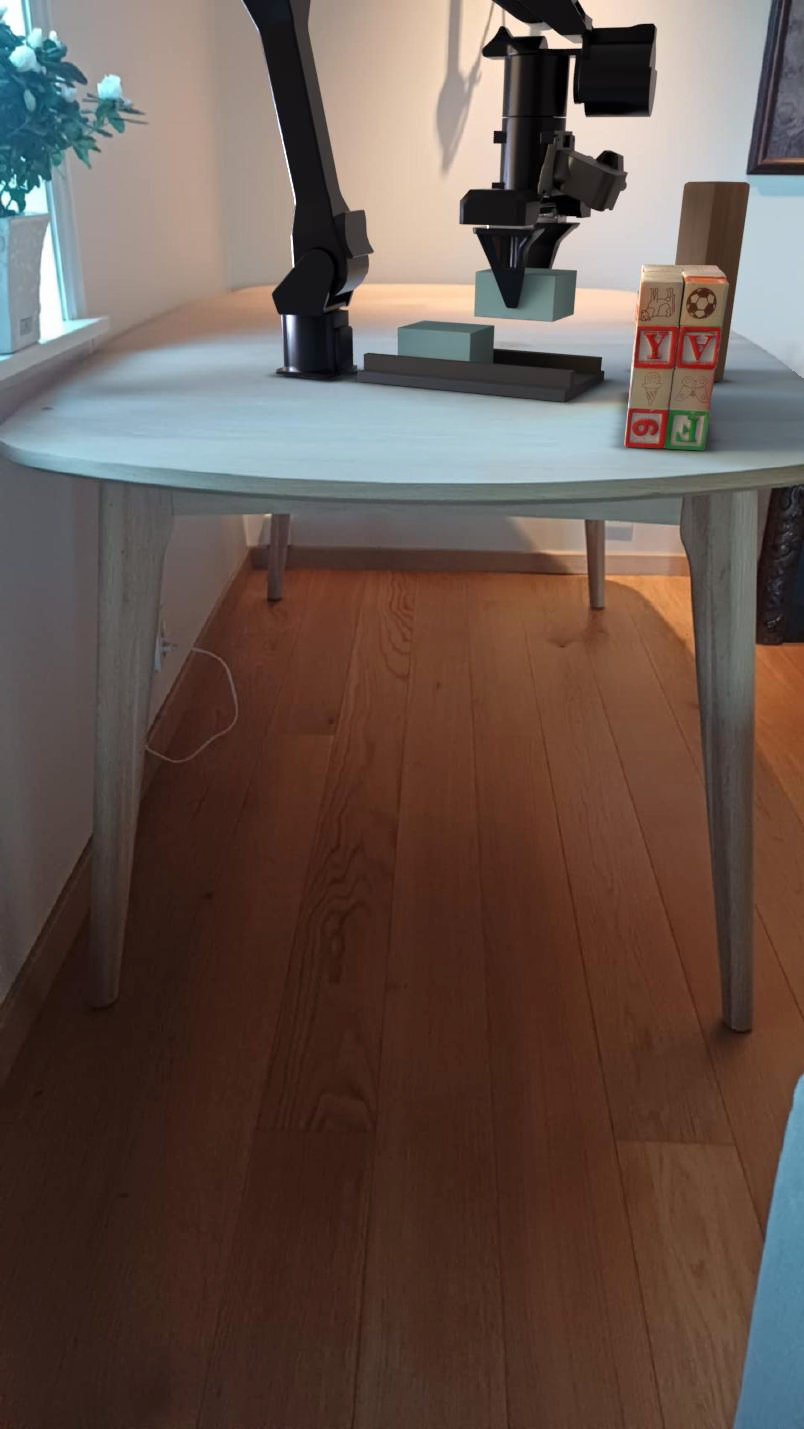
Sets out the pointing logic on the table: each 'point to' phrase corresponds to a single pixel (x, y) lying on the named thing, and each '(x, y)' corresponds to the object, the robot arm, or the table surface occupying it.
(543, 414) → the table surface
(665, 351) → the stack of blocks
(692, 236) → the wooden block
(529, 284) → the grey-green rectangular block
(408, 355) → the pad jig
